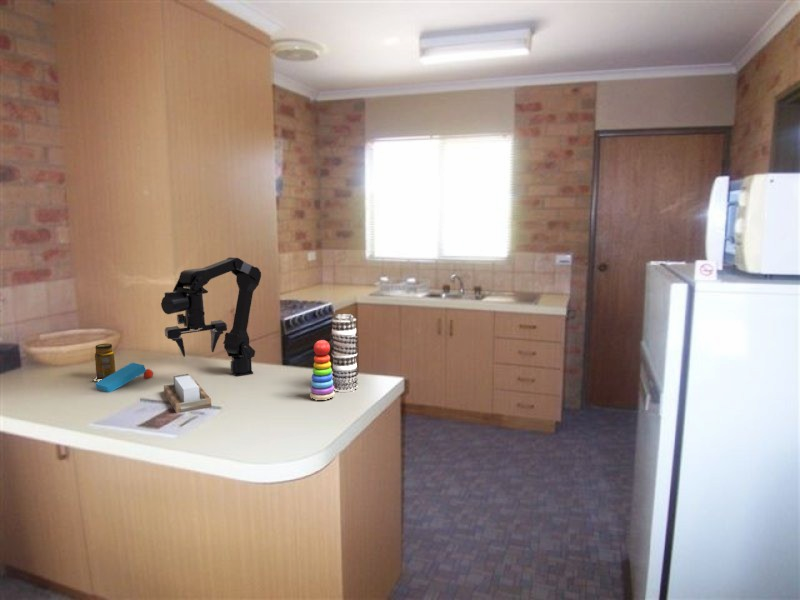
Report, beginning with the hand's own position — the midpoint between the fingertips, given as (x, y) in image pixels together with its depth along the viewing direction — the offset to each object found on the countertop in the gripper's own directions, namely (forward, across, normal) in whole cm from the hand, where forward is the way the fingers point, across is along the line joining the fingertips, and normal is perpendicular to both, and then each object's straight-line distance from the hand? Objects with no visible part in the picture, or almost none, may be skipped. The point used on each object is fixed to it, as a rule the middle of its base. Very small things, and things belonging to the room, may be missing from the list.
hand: (198, 354), depth 182 cm
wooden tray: (+11, +7, +10) cm, 17 cm away
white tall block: (+10, +7, +10) cm, 16 cm away
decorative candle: (+12, -40, +28) cm, 50 cm away
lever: (+12, +20, -18) cm, 30 cm away
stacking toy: (+12, -30, +32) cm, 45 cm away
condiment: (+12, +26, -29) cm, 41 cm away
